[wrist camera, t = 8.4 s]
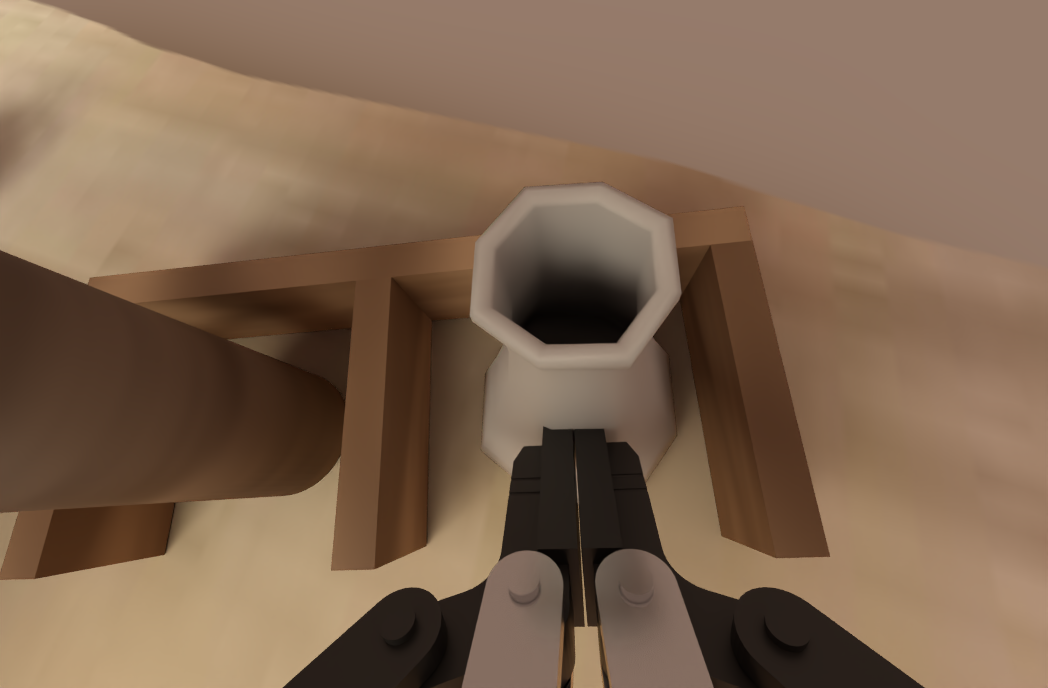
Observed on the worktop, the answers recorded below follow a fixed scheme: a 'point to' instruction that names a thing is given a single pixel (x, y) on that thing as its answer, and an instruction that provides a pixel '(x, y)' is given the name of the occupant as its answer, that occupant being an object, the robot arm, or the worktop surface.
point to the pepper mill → (145, 405)
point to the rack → (404, 391)
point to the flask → (576, 320)
